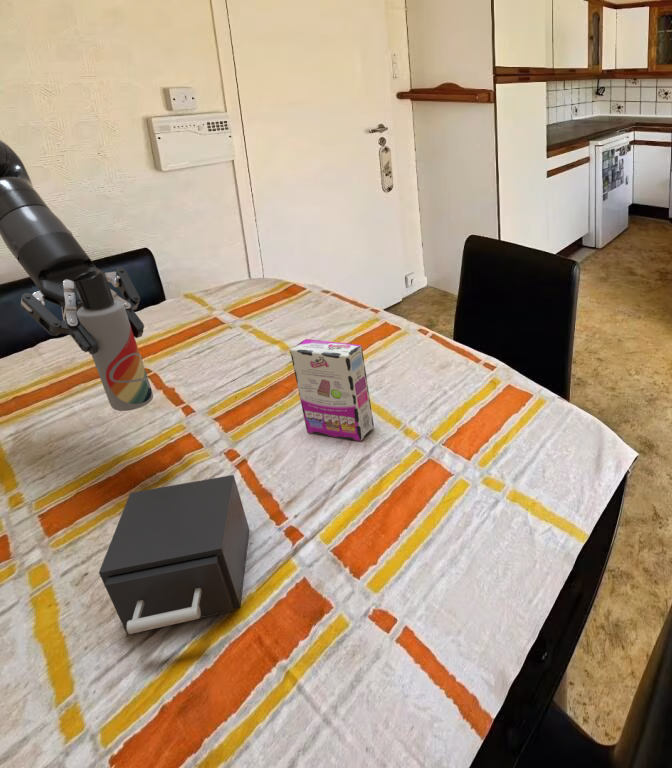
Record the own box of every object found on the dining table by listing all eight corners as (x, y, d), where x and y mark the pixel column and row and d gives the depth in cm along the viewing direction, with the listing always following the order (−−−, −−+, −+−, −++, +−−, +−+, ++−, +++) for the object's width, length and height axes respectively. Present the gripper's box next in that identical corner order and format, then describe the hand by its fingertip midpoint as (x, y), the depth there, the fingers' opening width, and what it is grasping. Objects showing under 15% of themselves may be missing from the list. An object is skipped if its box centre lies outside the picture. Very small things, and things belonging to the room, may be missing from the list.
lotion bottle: (155, 405, 92) (112, 275, 83) (111, 415, 90) (61, 283, 80) (152, 389, 96) (111, 264, 87) (110, 399, 94) (63, 271, 84)
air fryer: (240, 607, 76) (221, 548, 71) (126, 632, 73) (98, 572, 68) (249, 529, 88) (233, 474, 84) (152, 548, 85) (130, 492, 81)
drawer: (228, 639, 71) (211, 589, 67) (117, 664, 68) (93, 614, 64) (242, 536, 86) (228, 491, 82) (151, 553, 83) (133, 508, 79)
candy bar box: (375, 427, 111) (363, 344, 103) (361, 442, 107) (348, 356, 99) (321, 418, 114) (305, 336, 106) (305, 432, 110) (287, 349, 102)
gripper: (94, 250, 95) (161, 338, 95) (-15, 276, 85) (60, 375, 85) (101, 219, 90) (172, 312, 90) (-14, 243, 79) (66, 348, 79)
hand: (117, 342), depth 87 cm, fingers closed on lotion bottle, 5 cm apart
